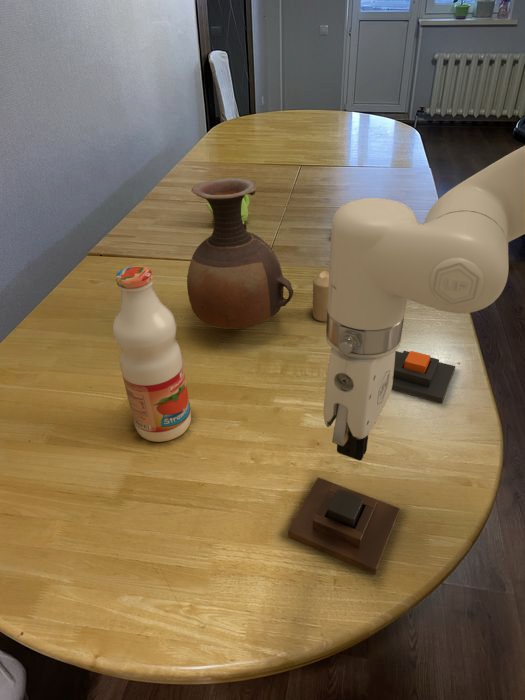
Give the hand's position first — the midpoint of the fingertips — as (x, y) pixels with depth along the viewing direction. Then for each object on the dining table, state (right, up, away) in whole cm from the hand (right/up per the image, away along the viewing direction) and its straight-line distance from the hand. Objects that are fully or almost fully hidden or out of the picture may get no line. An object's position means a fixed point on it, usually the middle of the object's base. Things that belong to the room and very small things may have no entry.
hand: (351, 452), depth 63 cm
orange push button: (+17, +7, +31) cm, 36 cm away
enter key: (+17, +9, +30) cm, 35 cm away
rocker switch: (0, -9, +5) cm, 10 cm away
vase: (-16, +17, +48) cm, 53 cm away
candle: (+3, +20, +50) cm, 54 cm away
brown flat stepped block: (0, -11, +7) cm, 13 cm away
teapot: (-21, +51, +95) cm, 110 cm away
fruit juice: (-27, 0, +24) cm, 36 cm away
